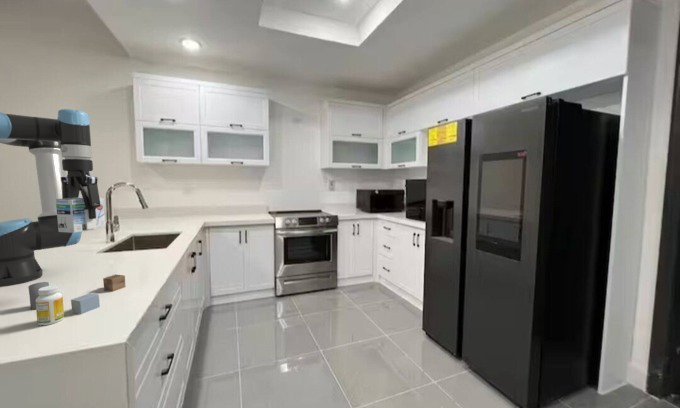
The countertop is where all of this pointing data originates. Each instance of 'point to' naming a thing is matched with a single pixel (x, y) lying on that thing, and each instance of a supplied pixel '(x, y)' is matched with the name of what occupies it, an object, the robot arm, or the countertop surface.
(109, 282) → the walnut block
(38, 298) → the supplement bottle
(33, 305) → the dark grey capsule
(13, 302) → the countertop surface
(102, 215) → the light bulb box
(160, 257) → the countertop surface
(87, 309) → the slate-blue block
